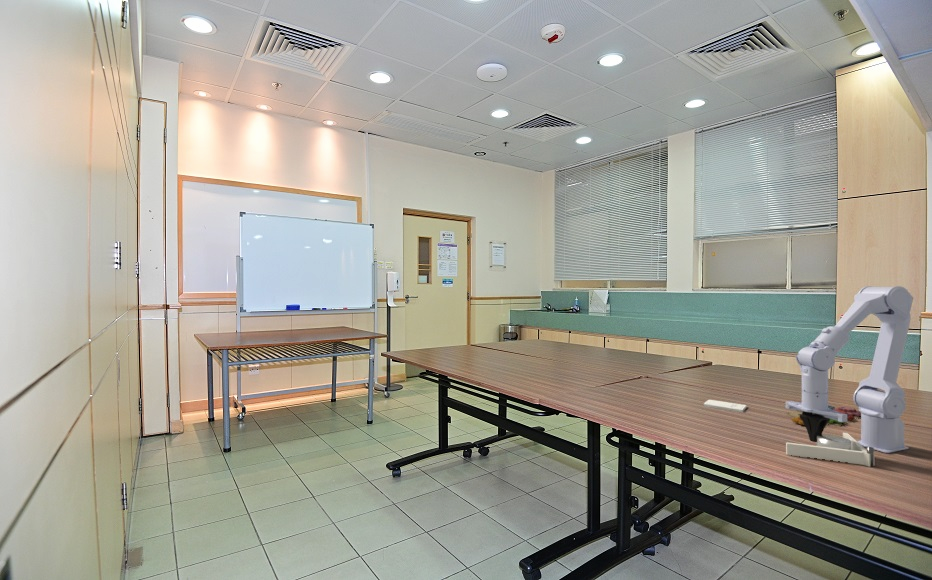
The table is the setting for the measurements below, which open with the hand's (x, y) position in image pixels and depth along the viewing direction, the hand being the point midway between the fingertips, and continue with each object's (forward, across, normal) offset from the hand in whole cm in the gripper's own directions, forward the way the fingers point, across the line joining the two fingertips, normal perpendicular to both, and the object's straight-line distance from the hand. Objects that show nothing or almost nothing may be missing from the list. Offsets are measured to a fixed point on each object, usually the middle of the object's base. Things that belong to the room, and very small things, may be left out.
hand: (814, 441), depth 121 cm
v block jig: (+2, +8, 0) cm, 8 cm away
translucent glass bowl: (+2, +5, 0) cm, 5 cm away
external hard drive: (+3, -40, +14) cm, 42 cm away
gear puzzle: (+3, -19, +31) cm, 36 cm away
